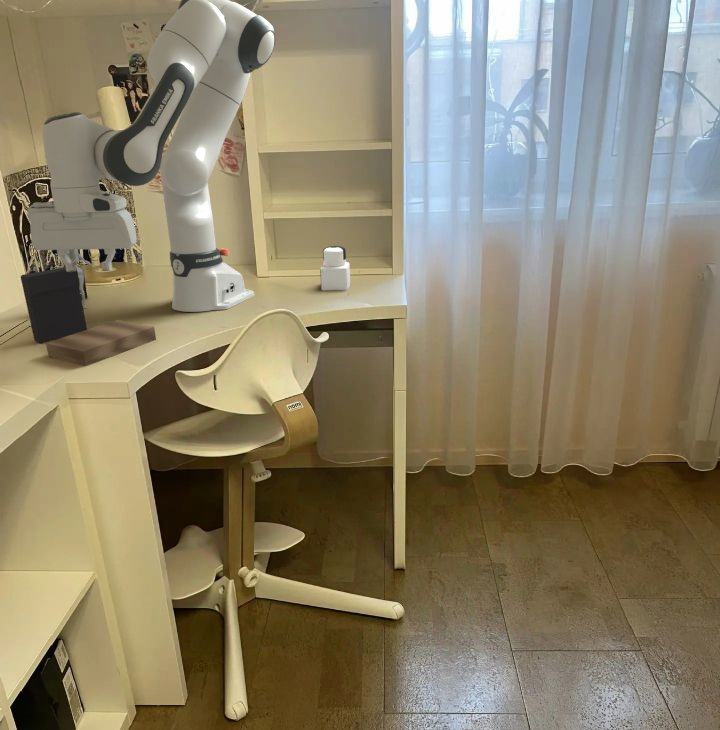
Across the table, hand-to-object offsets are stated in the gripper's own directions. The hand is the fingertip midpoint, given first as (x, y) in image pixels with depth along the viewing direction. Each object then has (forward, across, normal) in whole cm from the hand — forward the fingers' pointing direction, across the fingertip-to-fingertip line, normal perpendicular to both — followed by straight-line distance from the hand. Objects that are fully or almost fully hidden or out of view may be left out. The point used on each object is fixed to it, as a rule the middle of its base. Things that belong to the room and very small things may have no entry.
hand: (89, 270), depth 135 cm
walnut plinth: (+17, 0, 0) cm, 17 cm away
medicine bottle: (+16, +47, +44) cm, 67 cm away
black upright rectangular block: (+17, -13, +9) cm, 23 cm away
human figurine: (+17, -18, +31) cm, 40 cm away
